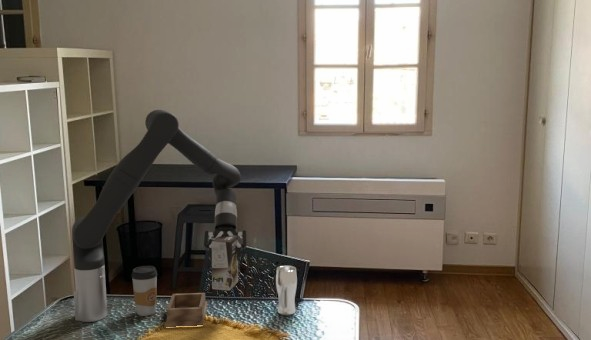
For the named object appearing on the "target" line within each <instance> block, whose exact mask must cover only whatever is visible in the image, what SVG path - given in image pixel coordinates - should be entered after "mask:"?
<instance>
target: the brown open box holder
mask: <svg viewBox="0 0 591 340" xmlns="http://www.w3.org/2000/svg"><path fill="white" fill-rule="evenodd" d="M207 303H208V300H206V292H196V293H195V292H193V293H191V292H190V293H189V292H188V293H172V295H171V297H170V300H169V302H168V306H167V308H166V319H165V323H164V327H163V328H166V327H176V326H197V325H203V323H204V324H205V320H204V317H205V318H206V315H205V314H207V309H208V304H207Z"/></svg>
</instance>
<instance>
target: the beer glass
mask: <svg viewBox="0 0 591 340" xmlns="http://www.w3.org/2000/svg"><path fill="white" fill-rule="evenodd" d="M275 271H276V274H275V286H276V292H277V296H278V307H277V313H278V314H279V315H282V316H283V315H284V316H290V315H294V314H295V313H296V304H295V298H296V293H297V285H298V277H297V273H298V272H297V267H295V266H293V265H280V266H277V267H276V270H275Z"/></svg>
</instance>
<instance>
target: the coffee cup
mask: <svg viewBox="0 0 591 340" xmlns="http://www.w3.org/2000/svg"><path fill="white" fill-rule="evenodd" d="M157 278H158V271H157V268H156V267H155V266H153V265H141V266H138V267H137V266H136V267H135V268H133V269H132V272H131V279H132V286H133V287H132V288H133V290H132V291H133V298H134V304H135V312H136V314H137V316H142V317H146V316H148V317H149V316H152V315H153V314H154V313H155V314H156V310H157V296H158V295H157V293H158V292H157V289H158V288H157V281H158V279H157Z"/></svg>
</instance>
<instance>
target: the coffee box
mask: <svg viewBox="0 0 591 340" xmlns="http://www.w3.org/2000/svg"><path fill="white" fill-rule="evenodd" d="M238 238H239V237H238V236H235V235H233V236H221V237H217V238H216V239H215V238H214V239H213V240H212V241H211V243H212V261H211V289H212V290H217V291H218V290H219V291H227V292H228V291H231V290H232V289H233V288H234V287H235V286H236V284H237V283H239V261H237V246H236V243H237V241H238V242H239V239H238Z"/></svg>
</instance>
